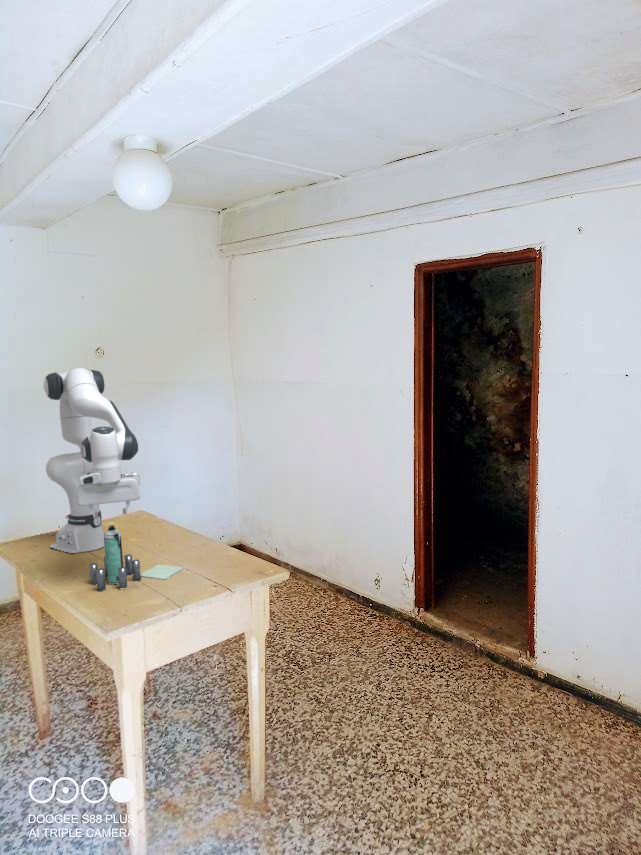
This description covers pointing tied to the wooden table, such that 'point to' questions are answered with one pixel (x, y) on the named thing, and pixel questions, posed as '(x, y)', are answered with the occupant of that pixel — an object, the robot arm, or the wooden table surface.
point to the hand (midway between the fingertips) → (110, 515)
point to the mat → (161, 572)
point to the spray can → (113, 554)
